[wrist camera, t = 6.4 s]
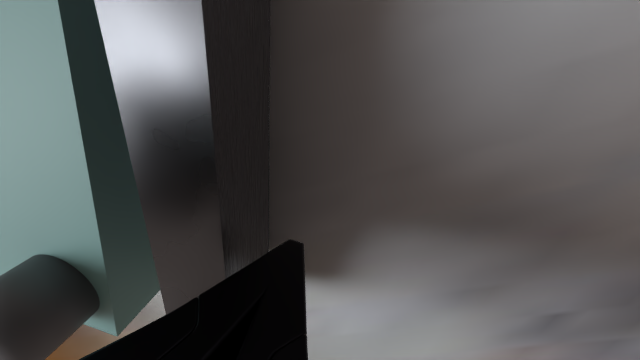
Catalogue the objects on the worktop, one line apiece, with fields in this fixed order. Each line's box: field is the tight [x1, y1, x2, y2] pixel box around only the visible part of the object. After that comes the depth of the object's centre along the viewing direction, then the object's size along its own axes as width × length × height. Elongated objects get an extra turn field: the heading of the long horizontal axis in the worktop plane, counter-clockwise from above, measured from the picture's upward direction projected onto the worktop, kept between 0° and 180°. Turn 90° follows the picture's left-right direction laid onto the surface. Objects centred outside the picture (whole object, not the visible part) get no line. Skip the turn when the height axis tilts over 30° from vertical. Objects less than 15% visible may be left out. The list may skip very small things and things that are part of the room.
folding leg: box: [94, 0, 270, 315], centre depth 7 cm, size 14×3×4 cm, turn 175°
